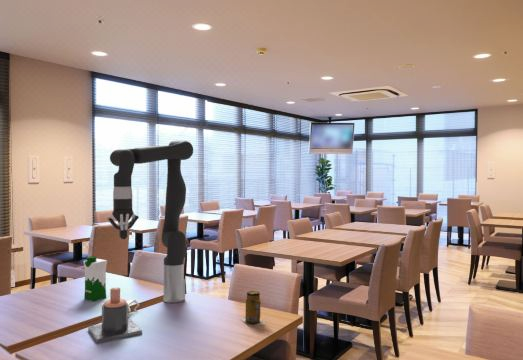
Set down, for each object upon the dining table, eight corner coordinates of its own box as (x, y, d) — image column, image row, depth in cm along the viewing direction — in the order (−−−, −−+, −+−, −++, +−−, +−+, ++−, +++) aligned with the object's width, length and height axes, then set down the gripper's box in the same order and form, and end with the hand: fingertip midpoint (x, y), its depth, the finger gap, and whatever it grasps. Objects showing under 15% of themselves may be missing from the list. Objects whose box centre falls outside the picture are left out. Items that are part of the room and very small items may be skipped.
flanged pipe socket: (130, 322, 169) (130, 296, 169) (142, 334, 158) (142, 306, 158) (88, 330, 160) (88, 303, 160) (97, 343, 149) (97, 314, 149)
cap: (122, 306, 165) (122, 284, 164) (129, 312, 158) (129, 289, 158) (101, 310, 160) (101, 287, 160) (107, 316, 153) (107, 293, 153)
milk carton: (81, 299, 199) (81, 256, 198) (97, 294, 206) (97, 253, 206) (92, 302, 194) (93, 259, 193) (109, 297, 202) (109, 255, 201)
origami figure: (124, 319, 173) (124, 307, 173) (109, 316, 176) (109, 304, 176) (144, 310, 184) (144, 299, 184) (129, 308, 187) (129, 297, 187)
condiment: (256, 317, 177) (257, 289, 177) (266, 324, 170) (266, 294, 169) (240, 320, 174) (241, 291, 174) (249, 327, 167) (249, 296, 166)
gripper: (135, 196, 182) (135, 236, 183) (103, 197, 175) (104, 239, 175) (141, 197, 176) (142, 238, 177) (109, 198, 169) (109, 241, 169)
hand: (123, 238), depth 176 cm, fingers closed
